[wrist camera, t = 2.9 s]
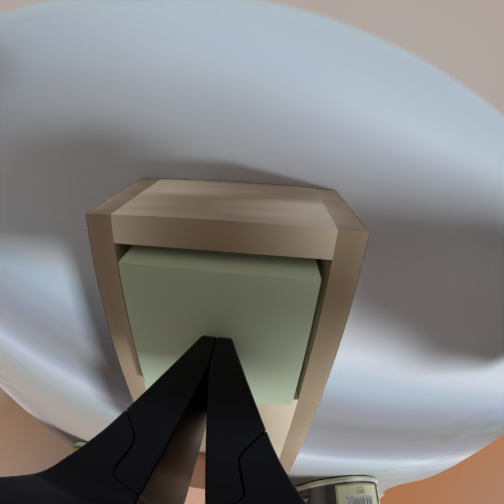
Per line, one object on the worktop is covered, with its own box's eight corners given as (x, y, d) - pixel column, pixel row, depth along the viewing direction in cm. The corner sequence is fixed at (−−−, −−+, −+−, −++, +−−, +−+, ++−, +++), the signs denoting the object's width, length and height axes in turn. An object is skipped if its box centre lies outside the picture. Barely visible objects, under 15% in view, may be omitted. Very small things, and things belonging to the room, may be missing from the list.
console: (335, 190, 10) (369, 232, 7) (265, 489, 23) (263, 521, 20) (141, 178, 11) (85, 213, 7) (194, 482, 23) (188, 513, 20)
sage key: (304, 221, 11) (321, 279, 7) (287, 330, 13) (291, 404, 9) (165, 211, 11) (118, 262, 7) (174, 320, 13) (147, 388, 9)
